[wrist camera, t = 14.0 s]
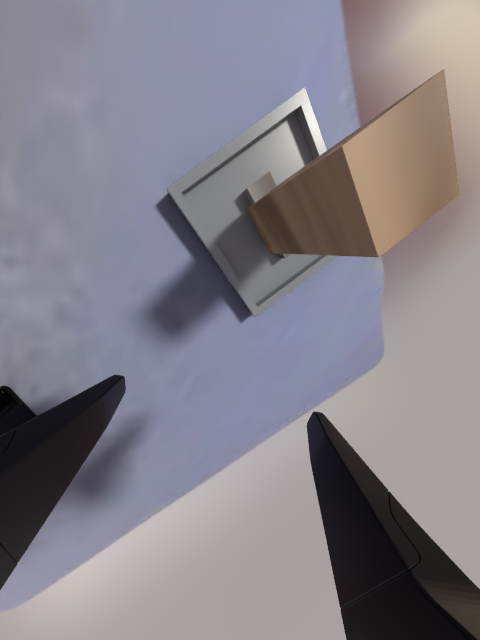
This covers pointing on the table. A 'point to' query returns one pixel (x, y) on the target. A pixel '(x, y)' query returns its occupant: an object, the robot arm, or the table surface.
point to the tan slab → (365, 183)
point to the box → (231, 203)
